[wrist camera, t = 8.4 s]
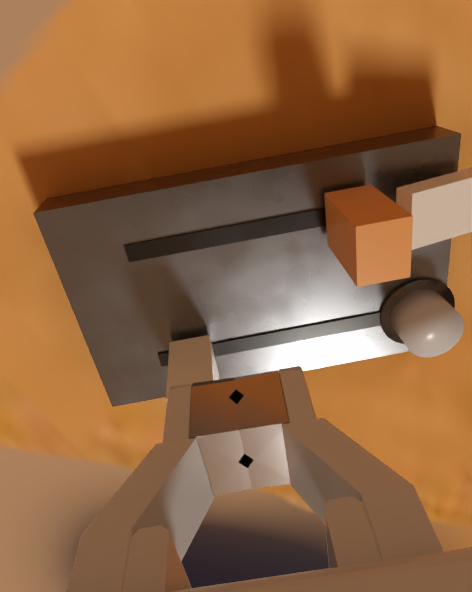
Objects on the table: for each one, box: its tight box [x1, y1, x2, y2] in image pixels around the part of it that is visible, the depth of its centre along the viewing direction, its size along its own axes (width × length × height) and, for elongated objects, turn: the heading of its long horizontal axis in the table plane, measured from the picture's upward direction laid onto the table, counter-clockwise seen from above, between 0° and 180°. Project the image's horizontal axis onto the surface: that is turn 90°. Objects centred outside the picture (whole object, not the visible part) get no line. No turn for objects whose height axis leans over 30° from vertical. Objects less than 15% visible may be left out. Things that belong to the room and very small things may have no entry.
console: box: [33, 126, 461, 407], centre depth 22 cm, size 18×11×3 cm, turn 99°
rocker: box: [396, 168, 472, 250], centre depth 18 cm, size 4×2×1 cm, turn 99°
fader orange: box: [324, 184, 413, 287], centre depth 17 cm, size 2×2×4 cm
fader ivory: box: [166, 335, 219, 401], centre depth 20 cm, size 2×2×4 cm
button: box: [391, 289, 464, 357], centre depth 22 cm, size 3×3×2 cm
